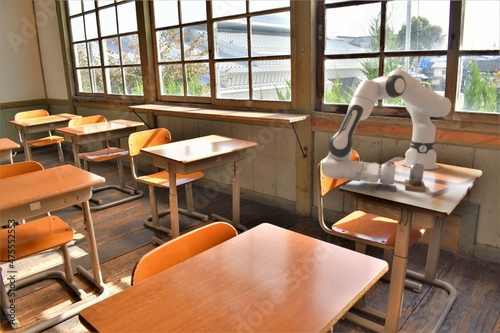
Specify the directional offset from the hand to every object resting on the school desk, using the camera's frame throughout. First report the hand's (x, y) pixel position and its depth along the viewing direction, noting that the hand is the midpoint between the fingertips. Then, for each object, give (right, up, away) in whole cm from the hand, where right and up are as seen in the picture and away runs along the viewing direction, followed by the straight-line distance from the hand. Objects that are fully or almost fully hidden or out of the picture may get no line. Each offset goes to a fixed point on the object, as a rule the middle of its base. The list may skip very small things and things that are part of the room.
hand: (389, 174), depth 169 cm
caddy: (+12, -6, +3) cm, 14 cm away
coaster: (-1, -6, +2) cm, 7 cm away
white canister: (-1, -4, +1) cm, 4 cm away
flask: (+12, -5, +1) cm, 13 cm away
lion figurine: (+3, -2, +20) cm, 20 cm away
